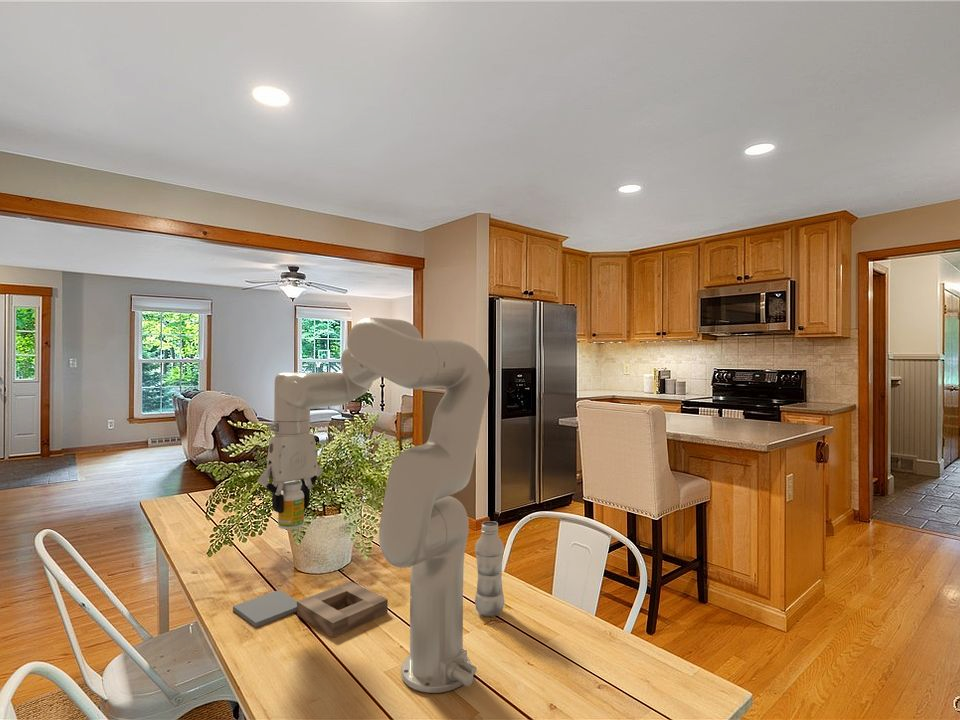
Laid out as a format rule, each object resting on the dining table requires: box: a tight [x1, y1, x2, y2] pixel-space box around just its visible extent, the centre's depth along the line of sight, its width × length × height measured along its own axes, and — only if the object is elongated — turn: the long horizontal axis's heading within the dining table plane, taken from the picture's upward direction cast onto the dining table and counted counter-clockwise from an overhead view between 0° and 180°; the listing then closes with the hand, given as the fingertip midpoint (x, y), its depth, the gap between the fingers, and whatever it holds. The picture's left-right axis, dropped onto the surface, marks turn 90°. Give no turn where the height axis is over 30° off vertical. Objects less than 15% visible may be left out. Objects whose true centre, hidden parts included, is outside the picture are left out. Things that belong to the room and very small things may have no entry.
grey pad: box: [232, 589, 298, 628], centre depth 118 cm, size 11×11×1 cm
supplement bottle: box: [277, 480, 305, 530], centre depth 118 cm, size 5×5×10 cm
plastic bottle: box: [474, 520, 505, 618], centre depth 117 cm, size 6×7×20 cm
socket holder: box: [296, 581, 389, 639], centre depth 117 cm, size 14×14×3 cm
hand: (291, 508), depth 118 cm, fingers closed on supplement bottle, 5 cm apart
